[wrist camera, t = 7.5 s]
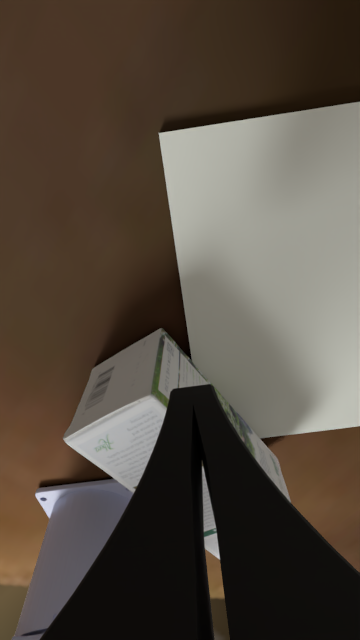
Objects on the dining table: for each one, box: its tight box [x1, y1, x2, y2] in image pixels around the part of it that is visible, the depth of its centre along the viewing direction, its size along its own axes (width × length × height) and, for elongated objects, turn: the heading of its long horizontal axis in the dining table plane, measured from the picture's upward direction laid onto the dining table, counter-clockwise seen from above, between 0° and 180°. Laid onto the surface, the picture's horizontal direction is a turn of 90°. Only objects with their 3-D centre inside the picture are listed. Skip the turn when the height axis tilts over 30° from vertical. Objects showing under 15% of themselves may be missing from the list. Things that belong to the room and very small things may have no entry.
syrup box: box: [63, 328, 291, 559], centre depth 20 cm, size 6×6×14 cm
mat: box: [159, 102, 360, 438], centre depth 18 cm, size 20×16×1 cm
